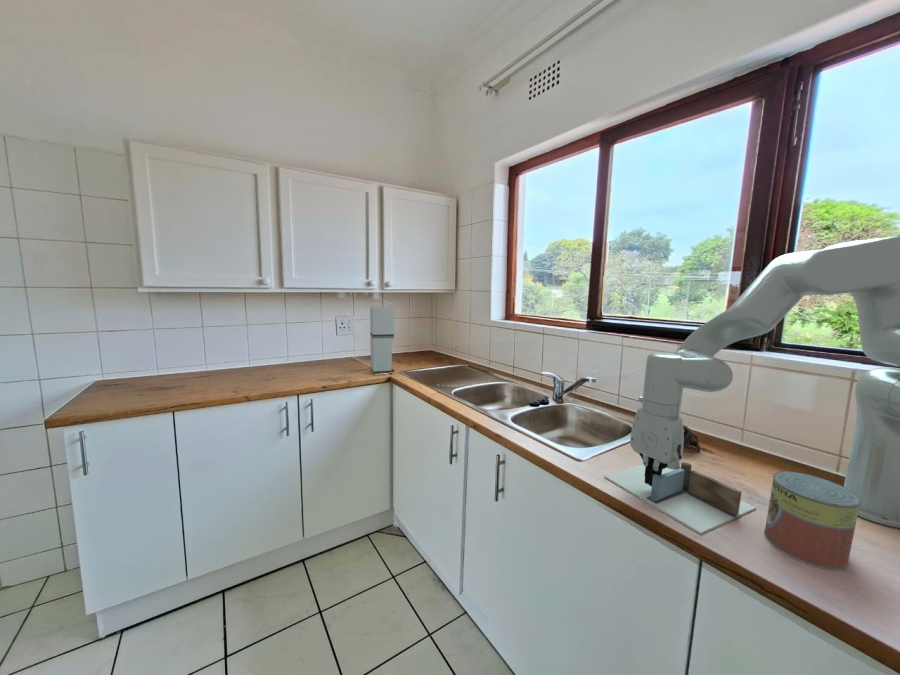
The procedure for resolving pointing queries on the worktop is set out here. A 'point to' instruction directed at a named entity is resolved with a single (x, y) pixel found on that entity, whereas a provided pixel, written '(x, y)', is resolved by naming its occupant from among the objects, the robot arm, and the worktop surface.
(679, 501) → the card
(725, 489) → the fixed fence section
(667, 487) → the hinged fence panel
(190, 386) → the worktop surface
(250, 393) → the worktop surface
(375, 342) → the grooved grey pillar
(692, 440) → the brown open ring frame
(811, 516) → the canned food
